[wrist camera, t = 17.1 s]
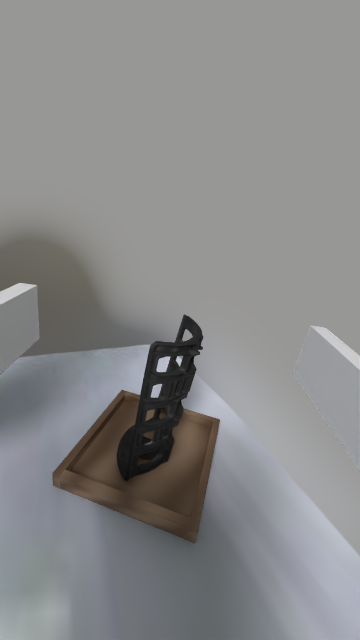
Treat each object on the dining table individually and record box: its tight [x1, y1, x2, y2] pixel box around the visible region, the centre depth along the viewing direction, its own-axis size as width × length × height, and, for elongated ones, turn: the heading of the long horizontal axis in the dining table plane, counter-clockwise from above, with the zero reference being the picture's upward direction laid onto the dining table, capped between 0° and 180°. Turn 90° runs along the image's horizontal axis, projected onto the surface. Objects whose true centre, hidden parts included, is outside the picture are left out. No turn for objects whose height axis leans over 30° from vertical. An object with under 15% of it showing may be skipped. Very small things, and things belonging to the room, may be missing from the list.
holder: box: [117, 315, 203, 481], centre depth 35 cm, size 11×8×20 cm
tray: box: [53, 390, 220, 543], centre depth 39 cm, size 18×18×2 cm
